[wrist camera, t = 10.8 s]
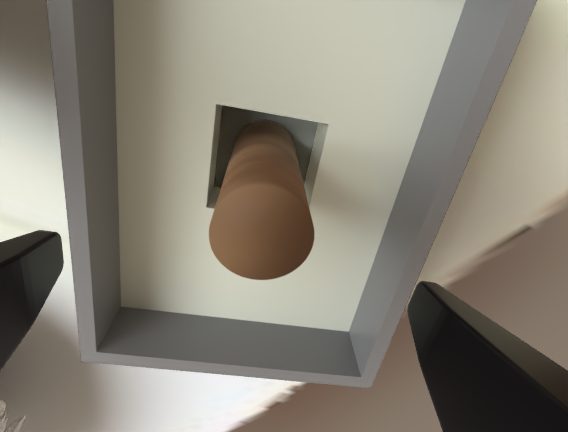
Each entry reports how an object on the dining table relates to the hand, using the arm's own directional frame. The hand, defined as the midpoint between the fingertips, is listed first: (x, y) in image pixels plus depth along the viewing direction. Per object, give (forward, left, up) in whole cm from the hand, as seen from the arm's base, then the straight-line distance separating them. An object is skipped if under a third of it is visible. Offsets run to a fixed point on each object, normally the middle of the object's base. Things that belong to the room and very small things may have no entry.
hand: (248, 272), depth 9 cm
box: (0, -1, -13) cm, 13 cm away
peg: (0, -1, -13) cm, 13 cm away
